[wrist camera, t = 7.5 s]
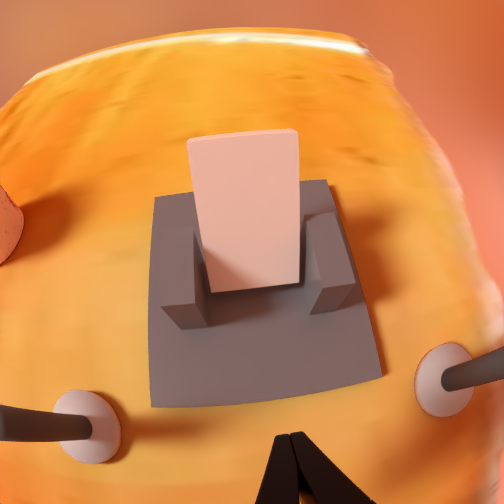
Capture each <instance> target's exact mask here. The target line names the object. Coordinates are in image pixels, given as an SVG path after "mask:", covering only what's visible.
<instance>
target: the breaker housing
mask: <svg viewBox="0 0 504 504" xmlns="http://www.w3.org/2000/svg"><path fill="white" fill-rule="evenodd" d="M299 187H300V257H299V283H291V284H283V285H275V286H267V287H259V288H250V289H241V290H232V291H223V292H214V293H211V288H210V283H209V278H208V273H207V267H206V262H205V257H204V251H203V245H202V240H201V234H200V228H199V222H198V216H197V210H196V204H195V198H194V192H188V193H181V194H174V195H167V196H160V197H155V203H154V213H153V224H152V237H151V251H150V269H149V297H148V351H149V378H150V396H151V407H201V406H218V405H231V404H242V403H251V402H260V401H268V400H275V399H282V398H289V397H295V396H301V395H306V394H312V393H317V392H322V391H327V390H332V389H336V388H341V387H345V386H349V385H354V384H358V383H362V382H365V381H369V380H373V379H377V378H380V377H383V376H382V371H381V366H380V361H379V357H378V352H377V347H376V343H375V339H374V334H373V330H372V326H371V322H370V318H369V314H368V310H367V306H366V302H365V298H364V295H363V291H362V287H361V284H360V280H359V277H358V273H357V270H356V267H355V263H354V260H353V257H352V253H351V250H350V247H349V244H348V241H347V238H346V234H345V231H344V228H343V225H342V222H341V219H340V217H339V214H338V211H337V208H336V205H335V202H334V199H333V197H332V194H331V191H330V188H329V186H328V183H327V180H326V179H325V180H308V181H299Z"/></svg>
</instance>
